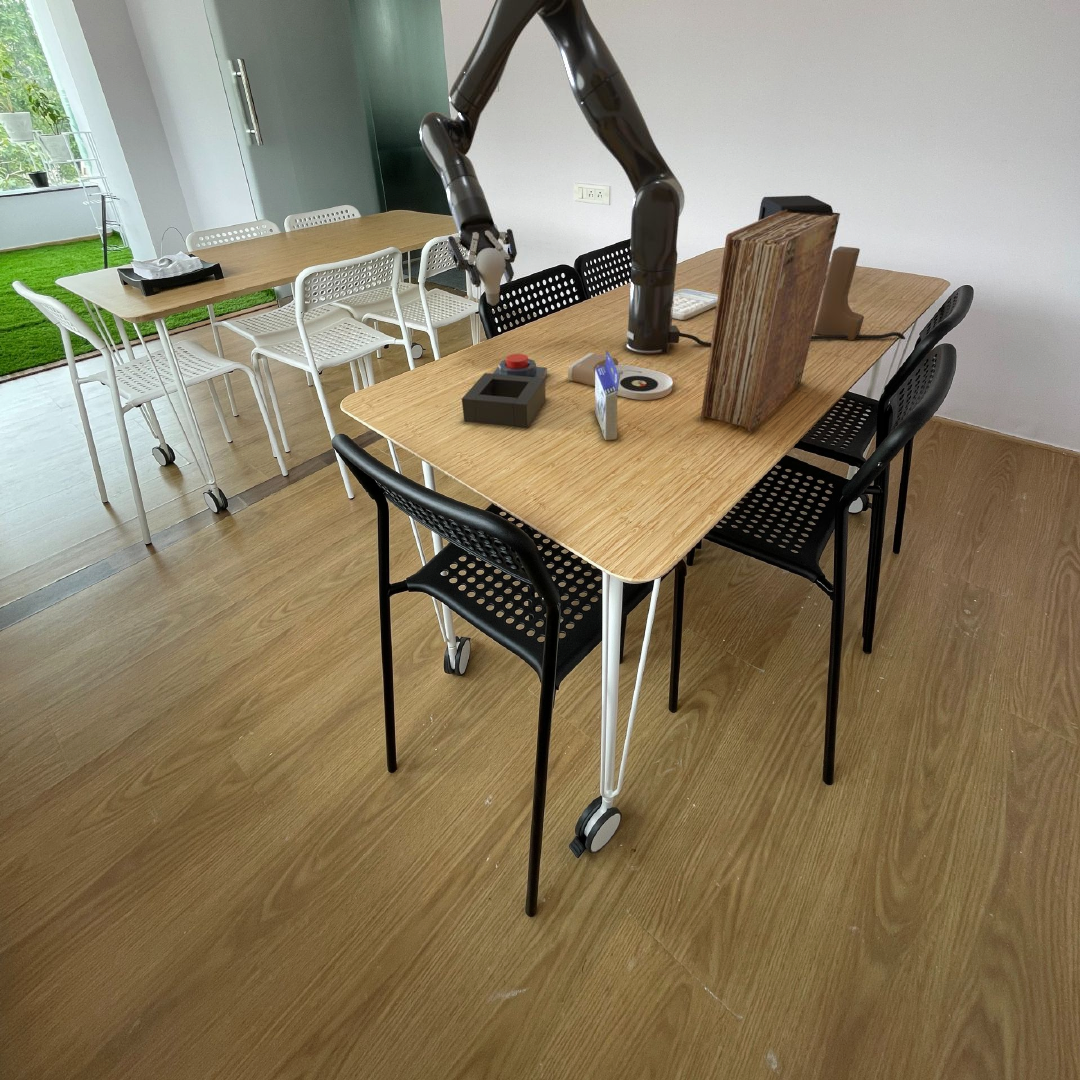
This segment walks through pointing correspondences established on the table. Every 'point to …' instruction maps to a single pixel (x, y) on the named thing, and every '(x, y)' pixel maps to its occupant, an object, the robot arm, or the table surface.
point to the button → (517, 361)
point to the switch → (522, 370)
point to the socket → (504, 400)
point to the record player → (623, 378)
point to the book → (766, 313)
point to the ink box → (607, 398)
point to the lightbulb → (491, 272)
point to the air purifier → (791, 205)
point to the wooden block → (839, 297)
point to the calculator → (692, 303)
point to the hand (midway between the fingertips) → (494, 282)
